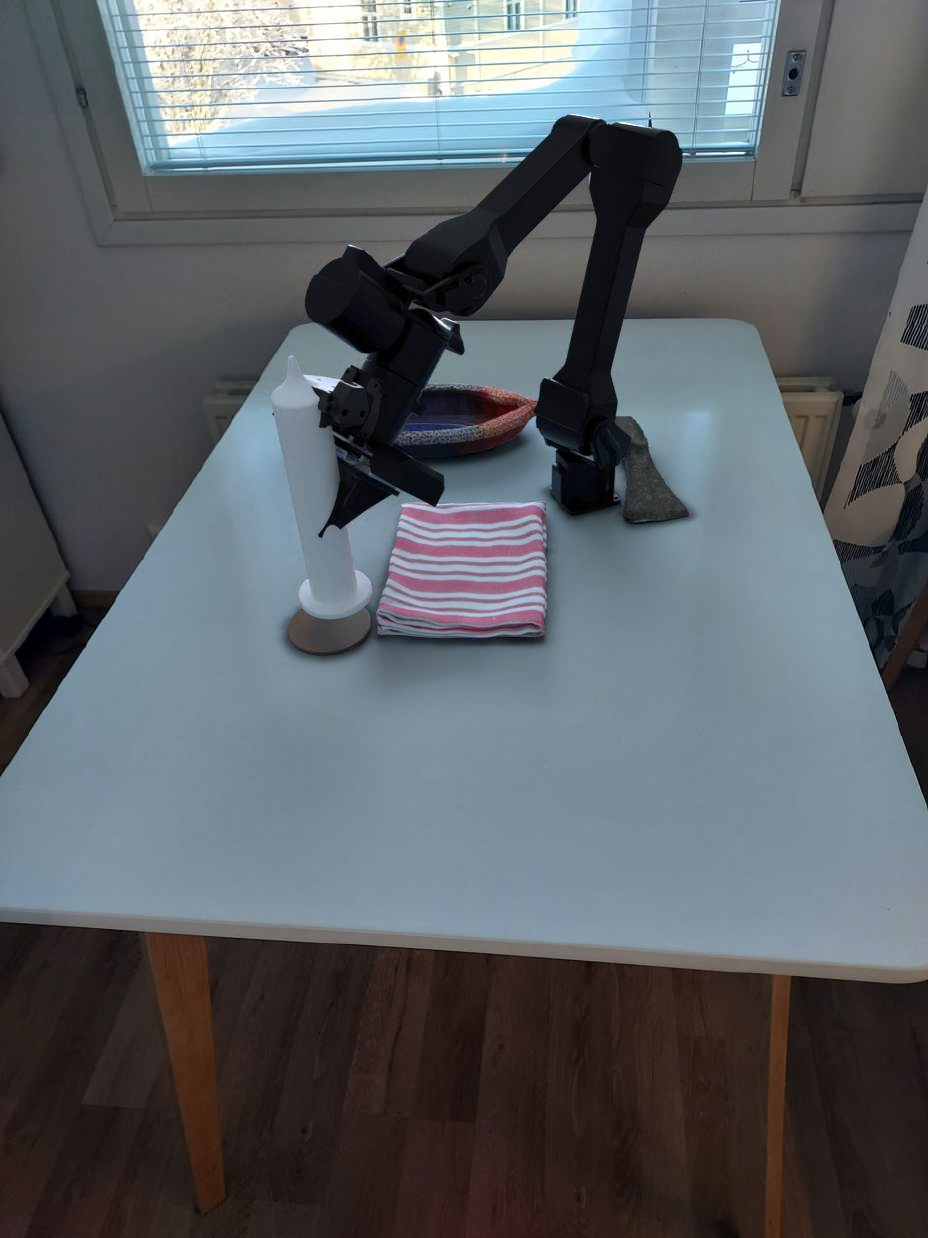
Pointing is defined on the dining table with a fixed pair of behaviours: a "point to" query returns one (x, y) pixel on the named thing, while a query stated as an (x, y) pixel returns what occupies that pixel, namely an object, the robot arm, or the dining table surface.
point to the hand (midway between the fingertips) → (312, 531)
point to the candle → (316, 501)
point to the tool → (645, 481)
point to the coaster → (328, 632)
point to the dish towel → (467, 571)
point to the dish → (463, 420)
